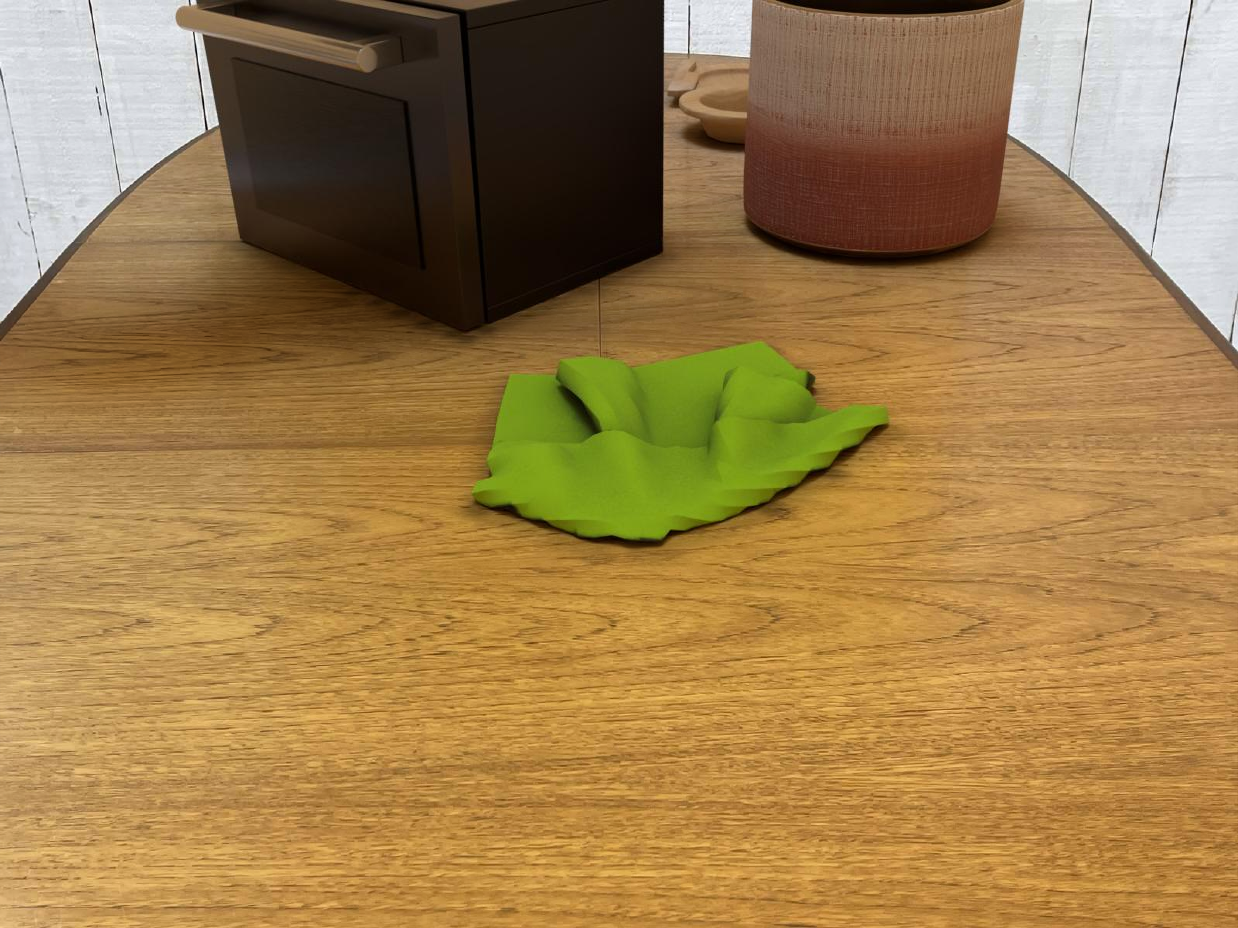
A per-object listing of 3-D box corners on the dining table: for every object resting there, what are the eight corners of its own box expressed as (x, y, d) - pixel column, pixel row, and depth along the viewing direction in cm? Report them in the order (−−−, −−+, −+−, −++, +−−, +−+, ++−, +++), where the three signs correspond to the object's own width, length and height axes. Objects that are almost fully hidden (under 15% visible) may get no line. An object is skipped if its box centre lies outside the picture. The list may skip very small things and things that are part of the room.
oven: (488, 323, 75) (466, 10, 66) (262, 234, 90) (218, -35, 80) (663, 251, 85) (665, -29, 76) (435, 181, 100) (413, -63, 91)
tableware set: (449, 163, 104) (445, 114, 102) (473, 79, 129) (470, 38, 127) (871, 153, 104) (875, 104, 102) (812, 72, 130) (815, 31, 128)
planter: (1000, 194, 95) (1032, -27, 87) (986, 279, 80) (1022, 23, 72) (769, 175, 100) (779, -35, 92) (716, 252, 85) (722, 9, 77)
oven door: (423, 349, 72) (387, 30, 63) (199, 251, 86) (143, -21, 77) (485, 322, 75) (460, 14, 66) (258, 232, 89) (212, -32, 80)
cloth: (425, 530, 56) (420, 483, 55) (536, 329, 74) (534, 291, 73) (893, 570, 53) (898, 522, 51) (887, 350, 71) (890, 311, 70)
